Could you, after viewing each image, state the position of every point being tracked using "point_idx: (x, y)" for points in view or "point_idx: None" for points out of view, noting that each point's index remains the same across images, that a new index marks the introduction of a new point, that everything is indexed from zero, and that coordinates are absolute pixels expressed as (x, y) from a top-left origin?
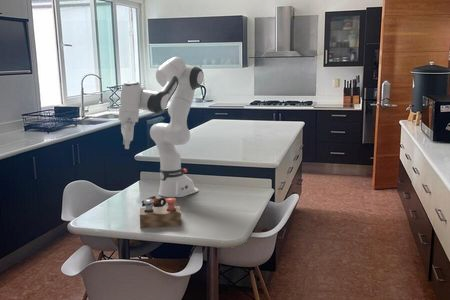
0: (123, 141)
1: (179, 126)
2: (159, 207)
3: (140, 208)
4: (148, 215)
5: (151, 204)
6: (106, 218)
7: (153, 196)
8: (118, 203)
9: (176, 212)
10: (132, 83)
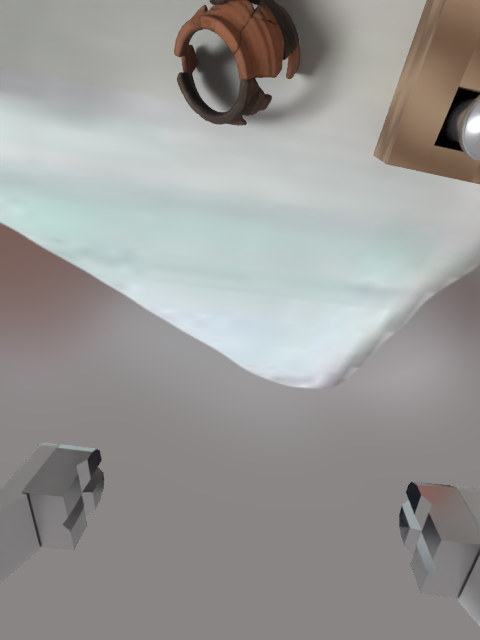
0: (67, 538)
1: None
2: (446, 34)
3: (396, 165)
4: None
5: None
6: (278, 289)
7: (235, 38)
8: (93, 217)
9: None
10: None
